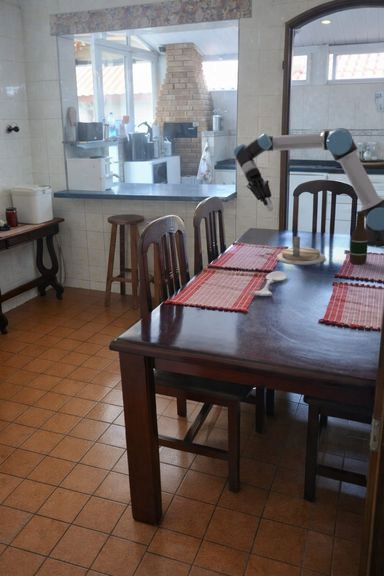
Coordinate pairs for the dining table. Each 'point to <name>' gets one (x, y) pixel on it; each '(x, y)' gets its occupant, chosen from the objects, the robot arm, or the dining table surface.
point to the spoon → (270, 278)
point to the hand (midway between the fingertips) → (271, 209)
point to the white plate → (301, 261)
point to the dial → (300, 252)
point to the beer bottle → (359, 241)
